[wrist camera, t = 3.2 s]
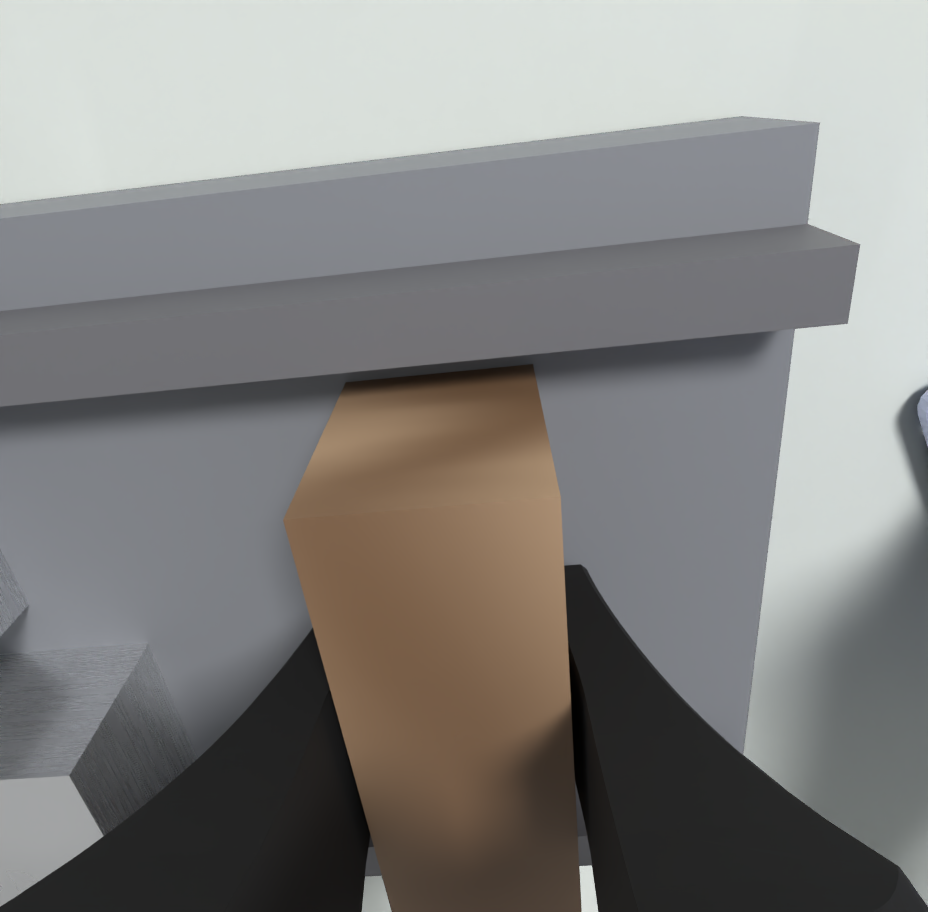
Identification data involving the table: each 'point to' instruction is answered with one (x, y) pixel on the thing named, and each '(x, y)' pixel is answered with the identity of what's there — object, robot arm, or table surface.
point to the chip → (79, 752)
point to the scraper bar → (447, 634)
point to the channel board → (399, 355)
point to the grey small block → (9, 596)
